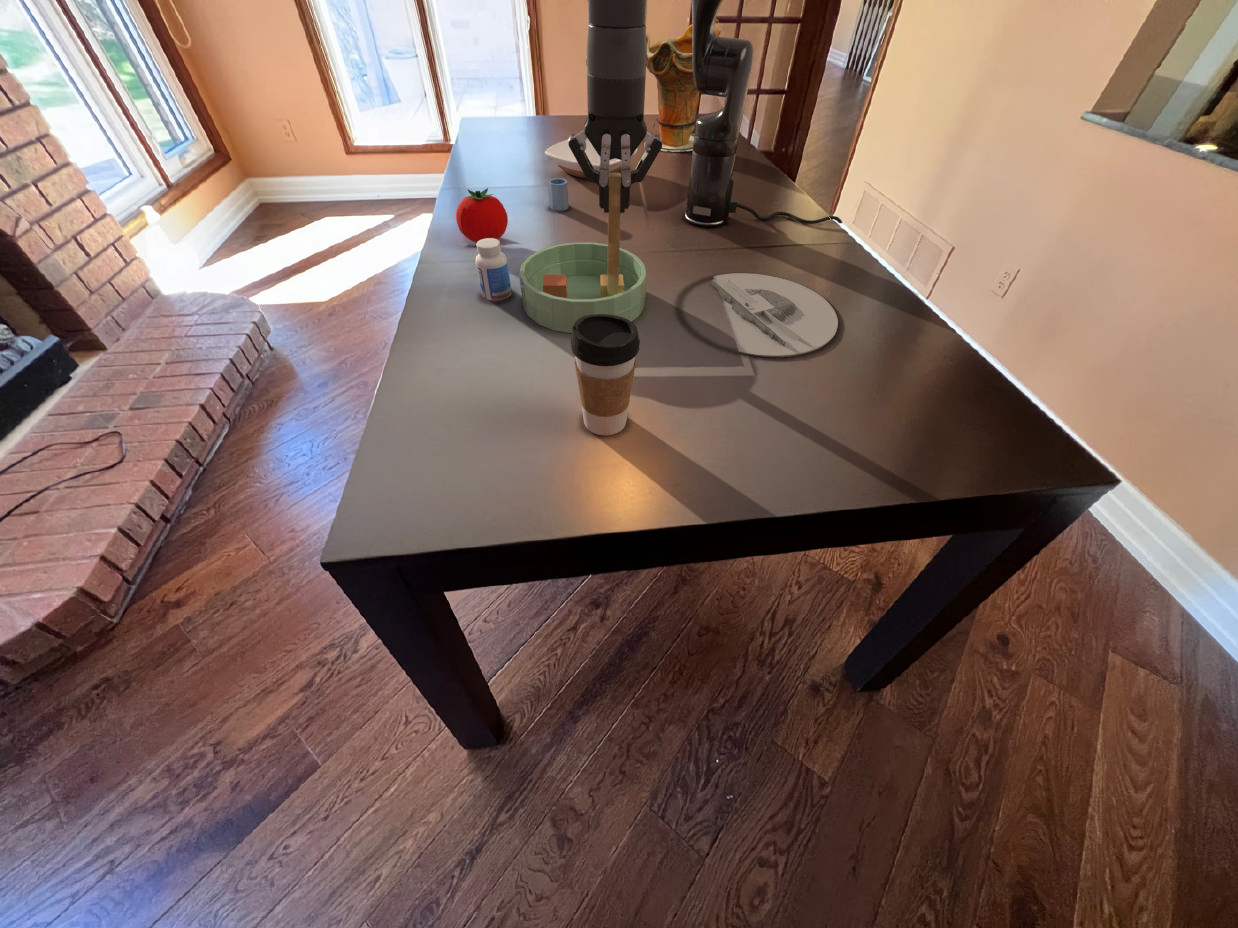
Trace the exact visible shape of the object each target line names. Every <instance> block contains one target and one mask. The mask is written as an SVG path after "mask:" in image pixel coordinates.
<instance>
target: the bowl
mask: <svg viewBox="0 0 1238 928" xmlns="http://www.w3.org/2000/svg"><path fill="white" fill-rule="evenodd" d="M585 142H586V150H585V153H586V155H587V157H588V158H589V160H590V162H591V164H592V166H593V168H594V169H595V170H597V171H599V168H600V156H599V155H598V154H597V152H596V150H595V149H594V147H593V146H592V144H591V143H590V141H589V140H588V138H587V139H586V141H585ZM638 150H639V147H638V148H637V149H636V150H635V152H634V153H633V155H632V156H631V157H630V159H632V158H633V157H634V156H635V155H636V154H637V152H638ZM544 154H545V156H547V157H548V158H549V159H550V160H551V161H552V162H553V163H555V164H556V165H557V166H558V167H559V168H560V169H561V170H562V171H563V172H564V173H566V174H569V175H571V176H574V177H577V178H581V179H582V178H583V179H587V178H586V176H585V175H584V173H583V171H582V169H581V167H580V166H579V164H578V162H577V160H576V158H575V156H574V155H573V153H572V151H571V149H570V147H569V138H568V139H565V140H562V141H559V142H557V143H555V144H553V145H551V146H549V147H548V148H547V149H545V151H544ZM620 169H621V160H619V159H612V160H609V171H608V173H618V172H619V170H620Z"/></svg>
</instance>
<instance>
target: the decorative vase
mask: <svg viewBox="0 0 1238 928" xmlns="http://www.w3.org/2000/svg"><path fill="white" fill-rule="evenodd" d="M715 31H716V34H717V36H718V37H720V35H721V33H722V30H721V29H719V28H716V27H715ZM646 40H647V59H646V61H647V64H646V70H648V72H649V73H650V74H652V75H653V77H655V79H656V89H657V106H658V107H657V109H658V110H657V111H658V117H657V118H656V119H655V121H657V124H658V130H659V131H658V132H659V134H655V135H654V136H659V137H660V139H661V141H662V148H661V150H660V151H662V152H672V153H674V152H678V153H679V152H693V144H694V134H695V132H694V131H695V125H696V121H697V118H696V116H697V110H698V107H699V101H700V100H699V99H700V92H698V91H697V89H696V87H695V84H694V79H693V63H692V24H690V25H688V27H687V28H686V29H685V30H684V32H683V34H682V35H680V36H678V37H676V38H672V39H671V38H669V39H663V40H662V39H661V40H657V41H653V42H651V37H650V35H649V34H646ZM655 125H656V123H654V124H653V127H652V129H654V128H655Z"/></svg>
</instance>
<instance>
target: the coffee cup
mask: <svg viewBox="0 0 1238 928" xmlns="http://www.w3.org/2000/svg"><path fill="white" fill-rule="evenodd" d="M640 340H641V339H640V338H639V331H638V327H637V326H636V325H635V323H634V322H633V321H632V322H631V321H629V320H628V319H625V318H623V317H619V316H615V315H607V314H593V315H586V316H583V317H581V318H579V319H578V320H577V321H576V322H575V323H574V325H573V327H572V333H571V338H570V345H571V346H570V349H571V352H572V353H573V355H574V357H575V358H574V367H575V374H576V379H577V385H578V386H577V387H578V392H579V400H580V404H581V410H582V418H583V424H584V426H585V428H586V429H587V430H588V431H589V432H590V433H592V434H595V435H597V436H612V435H615V434H618V433H619V432H622V430H623V429H624V428H625V426H626V424H627V419H628V412H629V405H630V401H631V395H632V388H633V382H634V376H635V370H636V365H637V363H636V361H637V360H636V356H637V355H638V354H639V351H640V344H641V341H640Z"/></svg>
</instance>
